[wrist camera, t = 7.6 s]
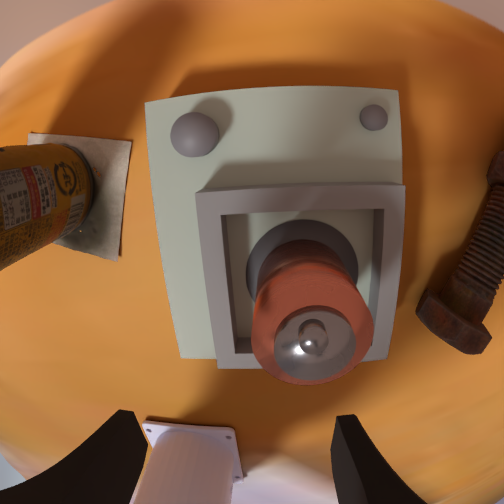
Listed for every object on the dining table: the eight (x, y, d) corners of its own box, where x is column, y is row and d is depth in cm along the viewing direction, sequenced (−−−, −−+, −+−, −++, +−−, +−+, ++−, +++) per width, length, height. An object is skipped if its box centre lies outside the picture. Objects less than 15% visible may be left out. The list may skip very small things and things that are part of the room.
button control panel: (375, 327, 19) (393, 364, 15) (190, 335, 20) (174, 373, 16) (381, 97, 15) (410, 85, 11) (161, 108, 15) (131, 98, 12)
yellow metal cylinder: (30, 133, 16) (-117, 151, 5) (133, 141, 16) (-43, 154, 5) (25, 234, 18) (-100, 302, 7) (119, 260, 19) (-10, 376, 7)
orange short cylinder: (351, 309, 16) (385, 392, 10) (269, 328, 16) (266, 417, 10) (337, 229, 14) (379, 285, 8) (247, 250, 15) (231, 319, 9)
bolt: (508, 131, 16) (429, 309, 20) (490, 91, 13) (398, 304, 17) (572, 156, 11) (485, 355, 15) (569, 116, 8) (467, 363, 13)
